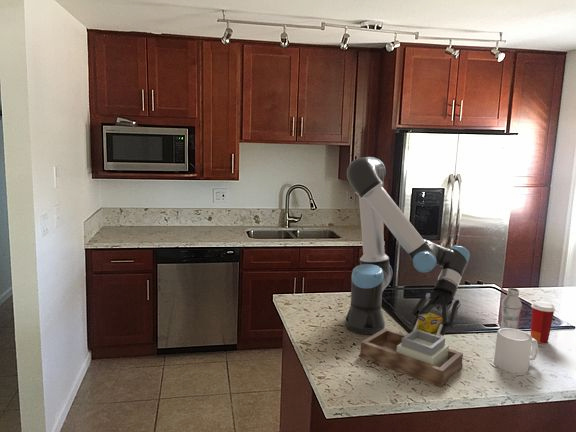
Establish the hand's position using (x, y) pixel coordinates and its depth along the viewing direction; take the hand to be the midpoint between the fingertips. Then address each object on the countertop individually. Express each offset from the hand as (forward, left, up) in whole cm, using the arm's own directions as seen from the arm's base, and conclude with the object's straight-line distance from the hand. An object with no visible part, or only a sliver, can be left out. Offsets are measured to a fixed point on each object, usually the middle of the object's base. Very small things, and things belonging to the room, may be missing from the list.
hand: (424, 338), depth 162 cm
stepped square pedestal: (+5, -13, -2) cm, 14 cm away
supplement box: (0, +3, -4) cm, 5 cm away
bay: (+1, -13, -4) cm, 13 cm away
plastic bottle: (+20, +26, -4) cm, 33 cm away
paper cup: (+28, +36, -4) cm, 46 cm away
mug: (+27, +9, -4) cm, 29 cm away
